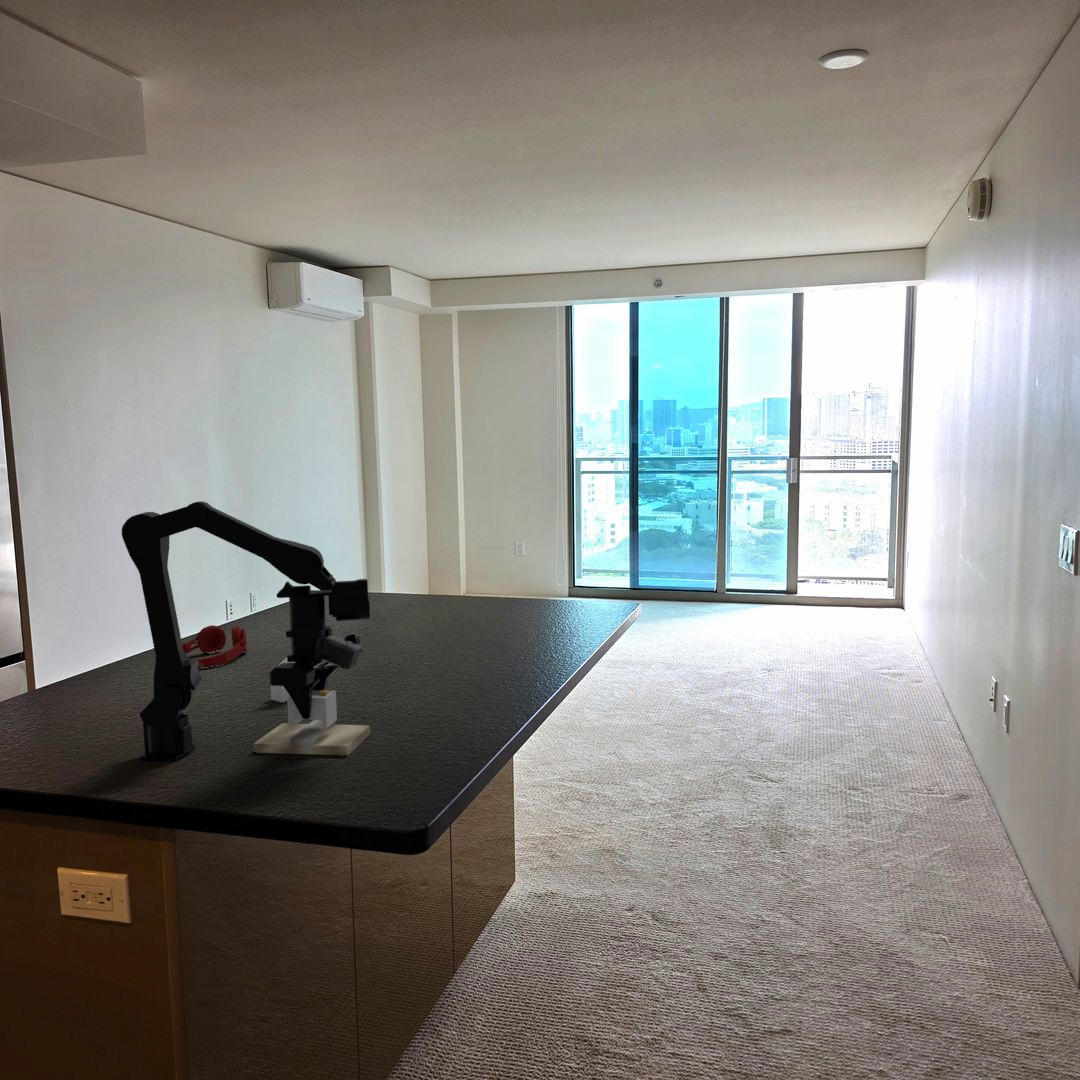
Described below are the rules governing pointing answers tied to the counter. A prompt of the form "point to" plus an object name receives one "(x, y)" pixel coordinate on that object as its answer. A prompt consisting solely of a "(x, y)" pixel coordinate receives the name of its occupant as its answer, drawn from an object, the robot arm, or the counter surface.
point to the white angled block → (279, 690)
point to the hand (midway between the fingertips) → (312, 714)
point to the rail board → (313, 739)
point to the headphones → (217, 645)
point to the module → (315, 709)
